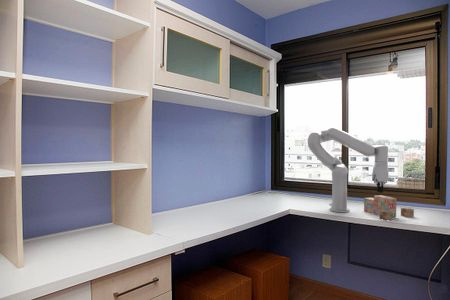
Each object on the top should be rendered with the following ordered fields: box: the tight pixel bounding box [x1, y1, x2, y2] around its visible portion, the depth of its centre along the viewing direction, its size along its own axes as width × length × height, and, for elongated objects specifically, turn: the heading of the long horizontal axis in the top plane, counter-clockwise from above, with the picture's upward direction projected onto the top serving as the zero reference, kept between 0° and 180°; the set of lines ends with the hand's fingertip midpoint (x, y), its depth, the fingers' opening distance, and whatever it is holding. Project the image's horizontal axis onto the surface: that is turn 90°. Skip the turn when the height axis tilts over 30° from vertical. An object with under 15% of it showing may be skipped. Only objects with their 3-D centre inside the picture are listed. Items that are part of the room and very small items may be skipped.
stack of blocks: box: [363, 194, 397, 219], centre depth 194 cm, size 21×6×12 cm, turn 15°
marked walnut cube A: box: [379, 210, 393, 221], centre depth 180 cm, size 5×5×5 cm
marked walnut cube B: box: [400, 207, 415, 218], centre depth 188 cm, size 5×5×5 cm
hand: (380, 192), depth 193 cm, fingers closed
